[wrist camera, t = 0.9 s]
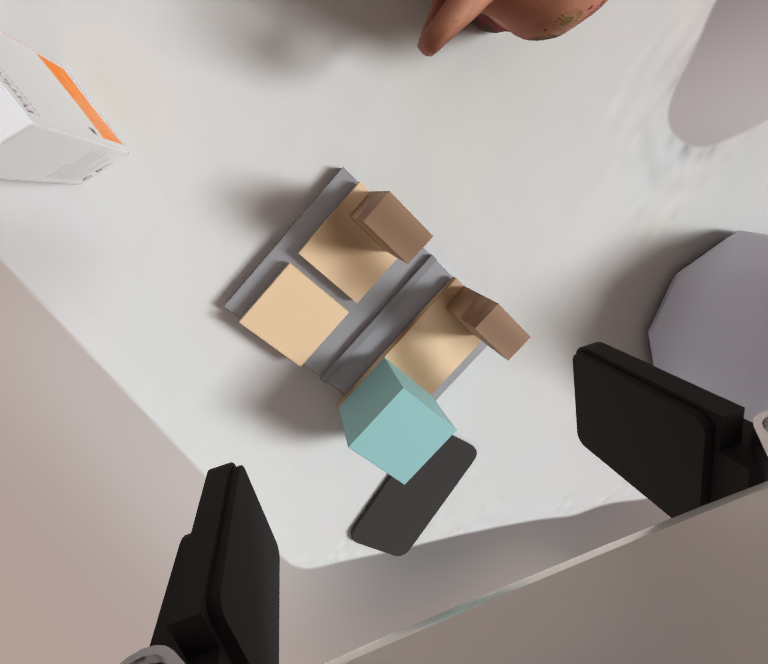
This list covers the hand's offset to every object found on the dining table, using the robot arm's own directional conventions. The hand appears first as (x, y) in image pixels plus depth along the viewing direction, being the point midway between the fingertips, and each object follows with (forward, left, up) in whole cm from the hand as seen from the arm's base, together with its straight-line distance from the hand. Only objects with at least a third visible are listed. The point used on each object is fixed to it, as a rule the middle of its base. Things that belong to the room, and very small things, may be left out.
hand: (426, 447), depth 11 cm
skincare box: (+4, -19, -25) cm, 32 cm away
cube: (+5, +11, -23) cm, 26 cm away
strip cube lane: (+1, +11, -24) cm, 26 cm away
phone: (+12, +22, -26) cm, 36 cm away
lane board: (0, +5, -25) cm, 25 cm away
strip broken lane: (-3, 0, -24) cm, 24 cm away
